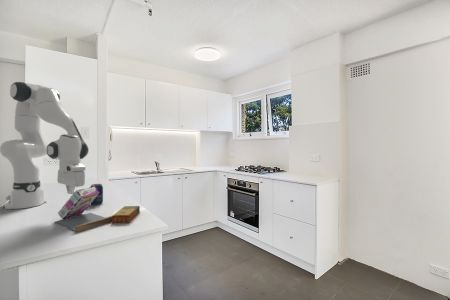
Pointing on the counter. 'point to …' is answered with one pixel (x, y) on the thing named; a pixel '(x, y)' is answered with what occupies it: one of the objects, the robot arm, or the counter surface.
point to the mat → (78, 220)
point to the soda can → (99, 198)
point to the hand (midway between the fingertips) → (70, 193)
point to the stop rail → (93, 224)
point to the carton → (126, 214)
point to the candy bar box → (78, 202)
